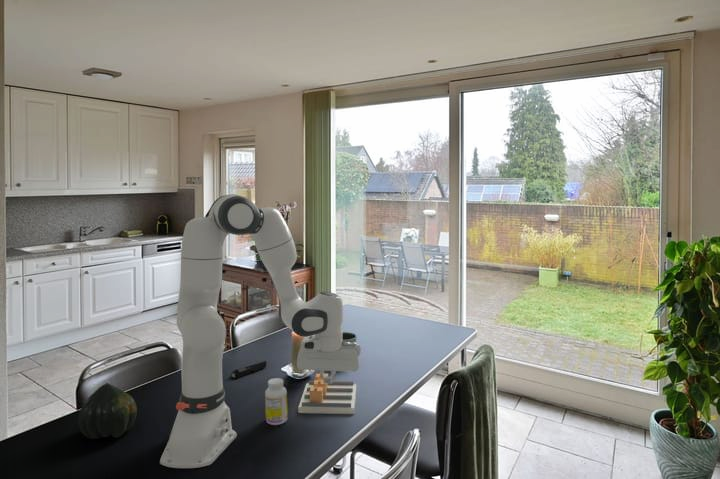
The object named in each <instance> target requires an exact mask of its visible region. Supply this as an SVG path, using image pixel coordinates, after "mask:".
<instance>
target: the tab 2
mask: <svg viewBox="0 0 720 479" xmlns="http://www.w3.org/2000/svg"><path fill="white" fill-rule="evenodd" d="M313 381H314V387H315V386H318V387H323V395H326V393H327V386H326V383H323V380H322V379H319V380H316V379H314V380H313Z"/></svg>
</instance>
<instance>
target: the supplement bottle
mask: <svg viewBox="0 0 720 479" xmlns="http://www.w3.org/2000/svg"><path fill="white" fill-rule="evenodd" d="M264 398H265V399H264V400H265V421H266V423H267V424H269V425H271V426H278V425H283V424H284V423H286V422H287V420H288V392H287V388H286V387H285V386H284V379H282V378H278V377H275V378H270V379H269V380H267V388H266V389H265V391H264Z"/></svg>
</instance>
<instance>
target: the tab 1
mask: <svg viewBox="0 0 720 479" xmlns="http://www.w3.org/2000/svg"><path fill="white" fill-rule="evenodd" d="M324 374H325V376H327V377H329V373H324ZM319 379H322V380H323V378H322V376H321V375H320V373H316V374H315V380H319ZM326 386H327V388H328V383H326Z"/></svg>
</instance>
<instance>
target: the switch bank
mask: <svg viewBox="0 0 720 479" xmlns="http://www.w3.org/2000/svg"><path fill="white" fill-rule="evenodd" d="M314 381H315V380H309V381H308V382H307V383H306V385H305V387H304V391H303V392H302V395H301V398H300V402H299V405H298V406H297V409H298V410H297V412H298V413H299V414H330V415H331V414H332V415H333V414H337V415H338V414H340V415H354V414H355V408H356V397H357V383H354V381H351V380H350V381H343V380H342V381H341V380H339V381H338V380H332V384H328V388H327V393H326V395H323V402H310V388H311V387H314Z"/></svg>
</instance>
